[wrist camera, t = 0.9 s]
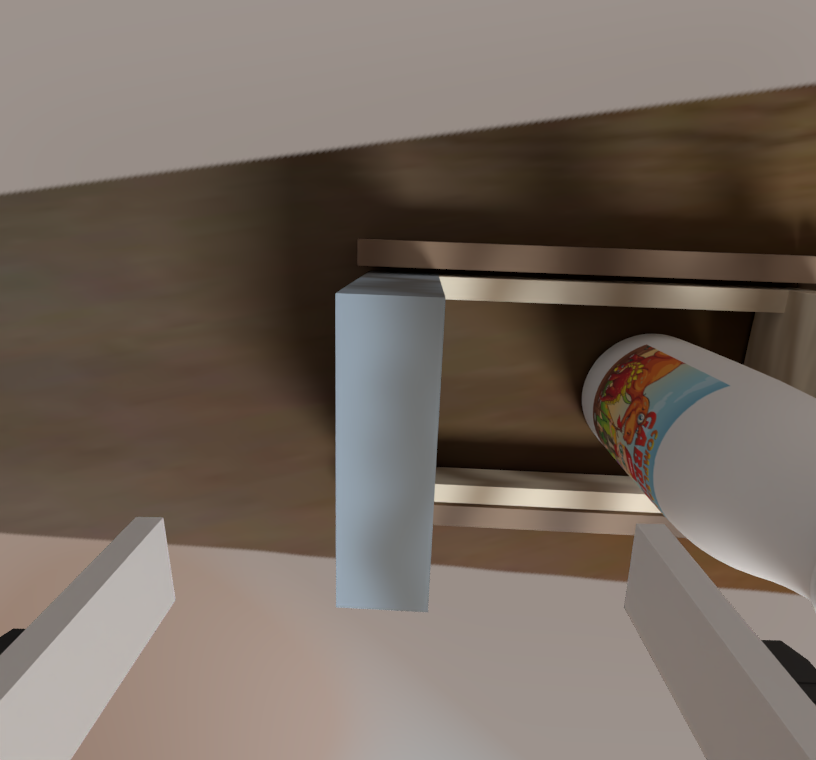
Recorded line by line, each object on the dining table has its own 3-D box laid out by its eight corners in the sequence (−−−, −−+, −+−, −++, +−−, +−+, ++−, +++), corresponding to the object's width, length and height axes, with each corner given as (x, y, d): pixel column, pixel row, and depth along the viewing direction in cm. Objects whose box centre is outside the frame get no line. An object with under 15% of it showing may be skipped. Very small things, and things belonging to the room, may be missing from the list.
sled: (366, 480, 34) (336, 607, 22) (370, 270, 30) (335, 293, 19) (742, 498, 33) (909, 638, 22) (792, 287, 30) (1027, 321, 18)
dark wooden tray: (359, 501, 35) (354, 520, 32) (362, 238, 30) (357, 239, 28) (759, 521, 34) (783, 542, 32) (826, 256, 29) (861, 258, 27)
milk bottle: (671, 306, 30) (1094, 430, 11) (725, 410, 32) (1174, 674, 13) (556, 373, 32) (755, 587, 13) (613, 470, 33) (867, 789, 14)
